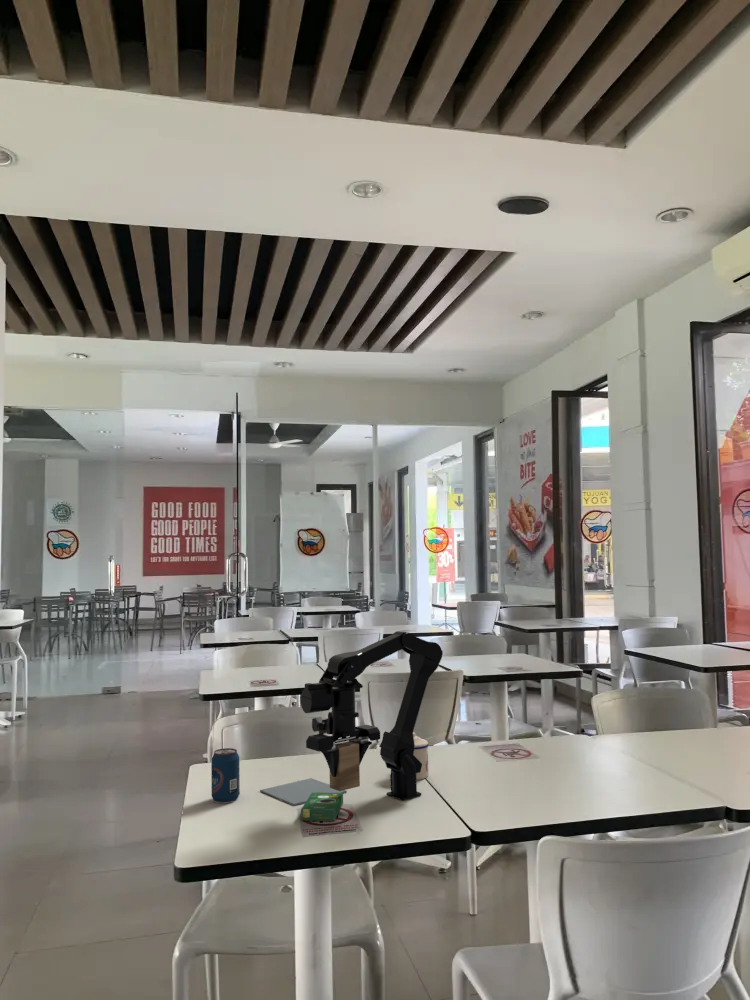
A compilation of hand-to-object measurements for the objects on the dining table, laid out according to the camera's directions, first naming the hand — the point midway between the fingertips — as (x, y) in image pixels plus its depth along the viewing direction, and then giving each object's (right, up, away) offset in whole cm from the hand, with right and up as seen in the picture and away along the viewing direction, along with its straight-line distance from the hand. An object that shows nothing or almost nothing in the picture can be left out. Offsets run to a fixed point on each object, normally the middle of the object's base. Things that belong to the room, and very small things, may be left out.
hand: (344, 774), depth 187 cm
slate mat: (-11, -9, +13) cm, 20 cm away
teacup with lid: (+17, -10, +27) cm, 34 cm away
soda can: (-30, -9, +8) cm, 33 cm away
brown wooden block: (0, -3, 0) cm, 3 cm away
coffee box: (-4, -7, +3) cm, 9 cm away
